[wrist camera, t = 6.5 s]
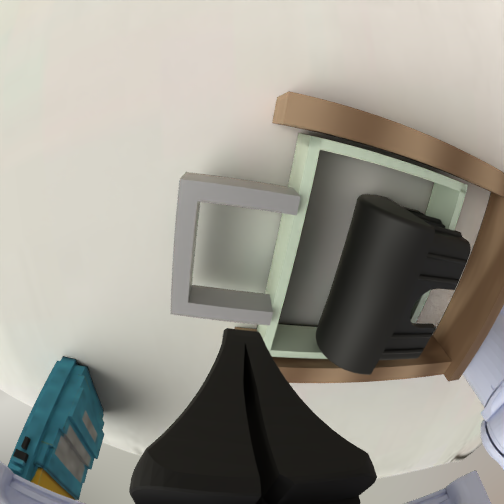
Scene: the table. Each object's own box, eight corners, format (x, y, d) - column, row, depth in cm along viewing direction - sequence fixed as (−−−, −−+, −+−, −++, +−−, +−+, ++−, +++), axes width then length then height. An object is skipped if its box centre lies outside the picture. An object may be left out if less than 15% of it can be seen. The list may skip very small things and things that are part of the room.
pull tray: (442, 175, 18) (472, 187, 15) (383, 335, 24) (398, 362, 21) (196, 116, 16) (187, 116, 13) (177, 319, 22) (170, 351, 19)
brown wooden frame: (504, 179, 19) (544, 196, 14) (436, 347, 26) (458, 379, 21) (277, 97, 16) (292, 89, 12) (232, 342, 23) (233, 390, 19)
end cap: (340, 184, 19) (388, 218, 12) (424, 205, 19) (482, 241, 13) (304, 312, 23) (326, 377, 17) (382, 317, 24) (416, 373, 17)
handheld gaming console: (56, 352, 23) (-4, 477, 10) (91, 360, 24) (39, 498, 10) (80, 409, 27) (47, 515, 14) (111, 417, 28) (84, 529, 14)
